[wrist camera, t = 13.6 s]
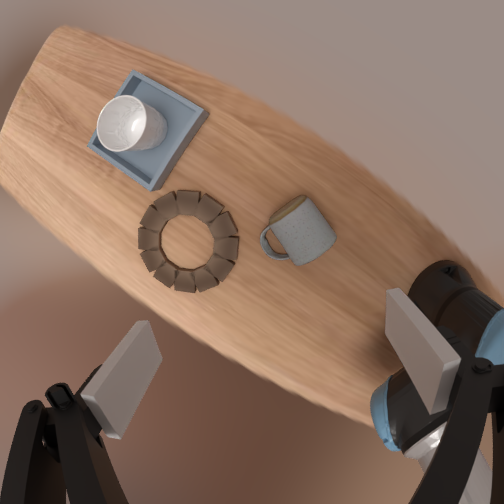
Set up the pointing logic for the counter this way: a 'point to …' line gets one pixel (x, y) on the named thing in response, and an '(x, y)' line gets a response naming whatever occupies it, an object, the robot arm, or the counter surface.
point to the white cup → (130, 125)
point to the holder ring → (207, 214)
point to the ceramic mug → (299, 232)
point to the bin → (177, 138)
